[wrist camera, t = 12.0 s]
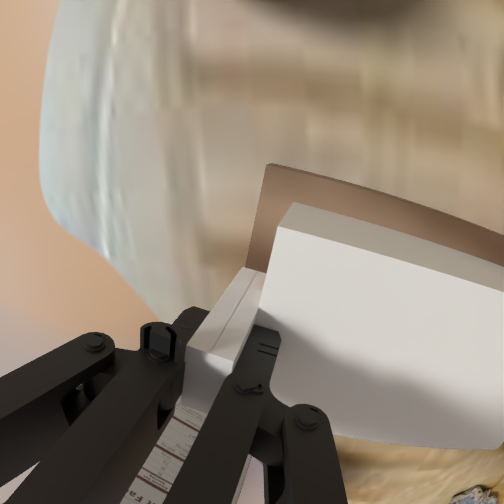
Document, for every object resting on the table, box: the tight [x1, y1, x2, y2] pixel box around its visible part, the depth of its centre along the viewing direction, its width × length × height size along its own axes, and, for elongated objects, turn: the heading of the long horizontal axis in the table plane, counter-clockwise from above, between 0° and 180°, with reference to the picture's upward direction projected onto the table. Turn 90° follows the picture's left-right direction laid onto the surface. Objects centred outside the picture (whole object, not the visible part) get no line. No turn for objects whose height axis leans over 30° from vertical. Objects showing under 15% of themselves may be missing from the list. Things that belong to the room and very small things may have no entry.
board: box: [245, 163, 504, 274], centre depth 15 cm, size 12×24×4 cm, turn 79°
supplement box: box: [120, 396, 252, 504], centre depth 18 cm, size 7×7×13 cm
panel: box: [255, 202, 504, 449], centre depth 13 cm, size 9×16×5 cm, turn 78°
